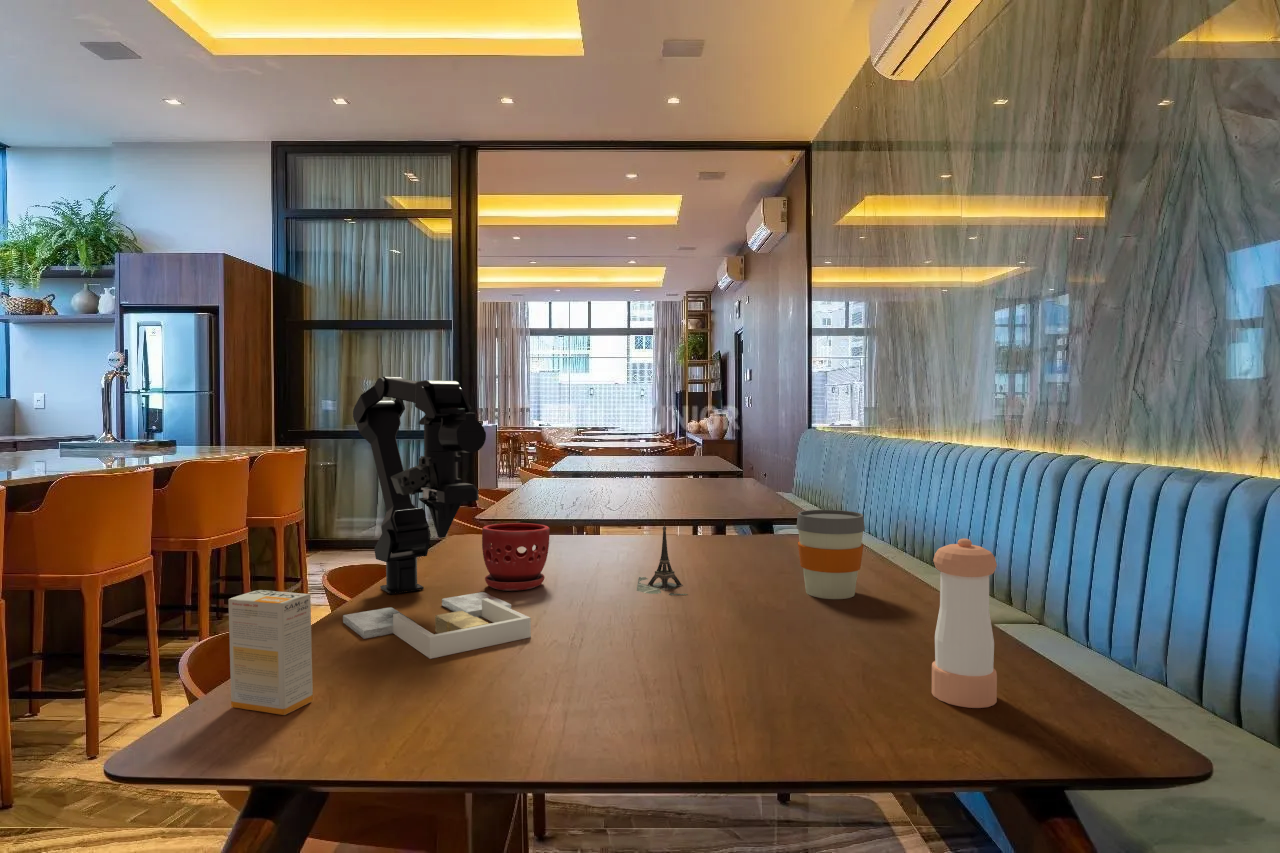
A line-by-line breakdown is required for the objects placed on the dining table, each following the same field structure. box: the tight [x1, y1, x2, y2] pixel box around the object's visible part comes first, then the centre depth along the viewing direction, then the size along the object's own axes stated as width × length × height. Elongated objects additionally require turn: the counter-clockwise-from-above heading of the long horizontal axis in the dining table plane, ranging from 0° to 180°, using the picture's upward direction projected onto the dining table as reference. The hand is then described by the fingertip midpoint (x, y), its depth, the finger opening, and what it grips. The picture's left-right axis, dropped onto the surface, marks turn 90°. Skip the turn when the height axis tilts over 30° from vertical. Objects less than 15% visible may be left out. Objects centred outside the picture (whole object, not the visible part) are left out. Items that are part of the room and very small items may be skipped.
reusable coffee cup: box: [795, 509, 866, 600], centre depth 140 cm, size 12×13×15 cm
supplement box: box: [228, 589, 314, 716], centre depth 88 cm, size 8×5×13 cm, turn 71°
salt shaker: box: [931, 538, 998, 709], centre depth 90 cm, size 7×7×19 cm
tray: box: [392, 598, 532, 660], centre depth 115 cm, size 15×16×3 cm
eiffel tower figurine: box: [636, 521, 688, 596], centre depth 147 cm, size 15×10×13 cm
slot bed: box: [342, 591, 512, 639], centre depth 125 cm, size 11×25×1 cm, turn 127°
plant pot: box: [481, 522, 550, 592], centre depth 147 cm, size 13×13×12 cm
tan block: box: [434, 611, 474, 634], centre depth 117 cm, size 4×4×3 cm
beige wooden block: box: [449, 617, 490, 631], centre depth 113 cm, size 4×4×3 cm
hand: (441, 537), depth 133 cm, fingers closed
